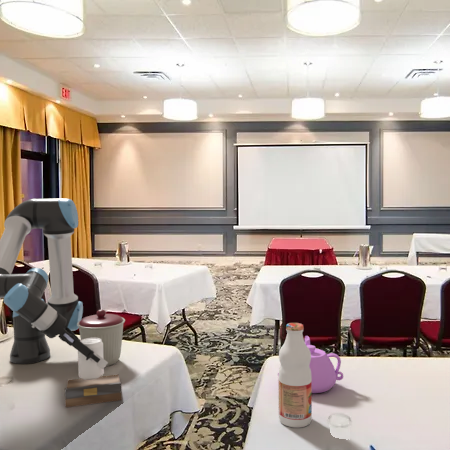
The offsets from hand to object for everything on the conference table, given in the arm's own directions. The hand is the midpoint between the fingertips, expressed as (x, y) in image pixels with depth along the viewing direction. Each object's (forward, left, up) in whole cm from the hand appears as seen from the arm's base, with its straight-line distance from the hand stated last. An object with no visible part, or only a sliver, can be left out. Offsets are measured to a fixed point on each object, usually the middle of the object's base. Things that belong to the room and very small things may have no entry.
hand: (101, 362), depth 157 cm
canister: (-27, +1, -9) cm, 28 cm away
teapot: (+16, +69, -10) cm, 71 cm away
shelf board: (+2, -3, -9) cm, 10 cm away
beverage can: (+1, -4, -4) cm, 6 cm away
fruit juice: (+39, +53, -9) cm, 66 cm away
